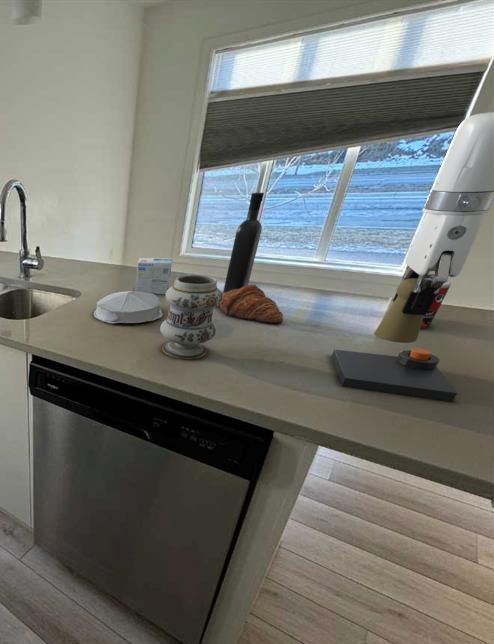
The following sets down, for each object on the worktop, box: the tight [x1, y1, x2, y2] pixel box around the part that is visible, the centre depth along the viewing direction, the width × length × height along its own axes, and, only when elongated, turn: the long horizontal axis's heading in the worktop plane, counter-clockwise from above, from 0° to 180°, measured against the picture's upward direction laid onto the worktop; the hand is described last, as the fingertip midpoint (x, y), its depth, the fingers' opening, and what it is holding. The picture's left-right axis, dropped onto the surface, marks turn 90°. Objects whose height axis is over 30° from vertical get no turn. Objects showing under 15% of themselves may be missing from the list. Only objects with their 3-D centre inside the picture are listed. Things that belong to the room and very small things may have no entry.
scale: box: [331, 349, 458, 403], centre depth 82 cm, size 16×14×4 cm
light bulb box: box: [134, 257, 173, 295], centre depth 137 cm, size 11×7×11 cm, turn 66°
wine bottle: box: [222, 192, 265, 293], centre depth 123 cm, size 6×6×30 cm
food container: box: [93, 290, 163, 324], centre depth 122 cm, size 20×20×7 cm
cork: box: [374, 278, 428, 344], centre depth 75 cm, size 6×6×11 cm
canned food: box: [420, 278, 452, 330], centre depth 100 cm, size 8×8×11 cm
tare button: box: [409, 347, 432, 360], centre depth 82 cm, size 3×3×2 cm
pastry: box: [215, 284, 284, 325], centre depth 115 cm, size 17×15×8 cm
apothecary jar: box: [159, 274, 222, 360], centre depth 96 cm, size 12×12×18 cm
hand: (408, 307), depth 75 cm, fingers closed on cork, 5 cm apart
